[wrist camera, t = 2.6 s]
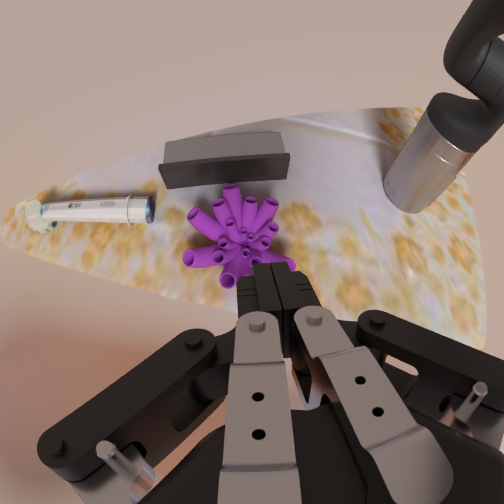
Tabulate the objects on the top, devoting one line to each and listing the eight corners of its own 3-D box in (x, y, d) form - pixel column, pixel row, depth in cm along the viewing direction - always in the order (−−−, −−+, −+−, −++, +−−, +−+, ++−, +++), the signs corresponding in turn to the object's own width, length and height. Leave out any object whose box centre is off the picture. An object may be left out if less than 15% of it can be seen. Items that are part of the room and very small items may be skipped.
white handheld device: (147, 219, 37) (12, 219, 34) (154, 238, 44) (30, 235, 40) (152, 186, 39) (21, 191, 36) (158, 209, 46) (37, 209, 42)
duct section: (280, 151, 46) (283, 129, 41) (286, 179, 44) (290, 157, 39) (169, 161, 45) (161, 140, 40) (167, 189, 43) (158, 168, 38)
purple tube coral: (233, 303, 41) (182, 296, 33) (225, 211, 46) (180, 190, 38) (303, 285, 35) (259, 273, 27) (284, 183, 40) (243, 151, 32)
